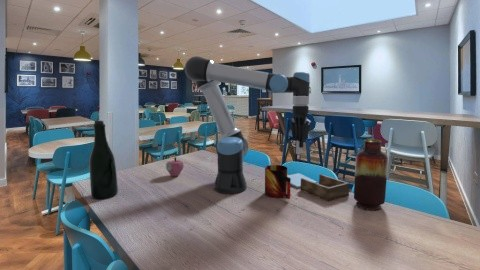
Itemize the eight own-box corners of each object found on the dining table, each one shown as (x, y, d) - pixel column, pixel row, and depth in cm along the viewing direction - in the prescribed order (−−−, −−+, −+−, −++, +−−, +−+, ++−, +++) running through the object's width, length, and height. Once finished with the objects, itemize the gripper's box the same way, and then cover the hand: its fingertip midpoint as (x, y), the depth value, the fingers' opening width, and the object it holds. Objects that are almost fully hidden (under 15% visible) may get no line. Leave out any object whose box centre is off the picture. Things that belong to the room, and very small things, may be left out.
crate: (300, 190, 123) (300, 178, 122) (320, 185, 130) (320, 174, 129) (328, 201, 110) (328, 188, 109) (348, 195, 116) (349, 183, 116)
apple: (164, 175, 147) (163, 157, 145) (178, 172, 153) (177, 155, 151) (172, 179, 140) (171, 160, 138) (187, 176, 146) (186, 158, 144)
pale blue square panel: (279, 178, 136) (279, 177, 136) (298, 175, 142) (298, 173, 142) (297, 188, 125) (297, 186, 125) (317, 183, 132) (317, 181, 131)
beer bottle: (122, 195, 118) (116, 120, 113) (96, 201, 111) (89, 122, 106) (112, 189, 125) (107, 119, 120) (87, 195, 118) (81, 120, 113)
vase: (347, 203, 108) (350, 139, 104) (367, 199, 112) (371, 137, 108) (369, 214, 98) (374, 143, 94) (391, 209, 102) (396, 141, 98)
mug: (289, 202, 109) (289, 173, 108) (260, 194, 118) (260, 168, 116) (299, 195, 117) (300, 168, 115) (271, 188, 125) (272, 163, 123)
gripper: (316, 105, 125) (314, 155, 128) (297, 104, 136) (295, 150, 139) (304, 105, 121) (302, 157, 124) (285, 105, 132) (284, 152, 135)
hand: (299, 153), depth 132 cm, fingers closed
